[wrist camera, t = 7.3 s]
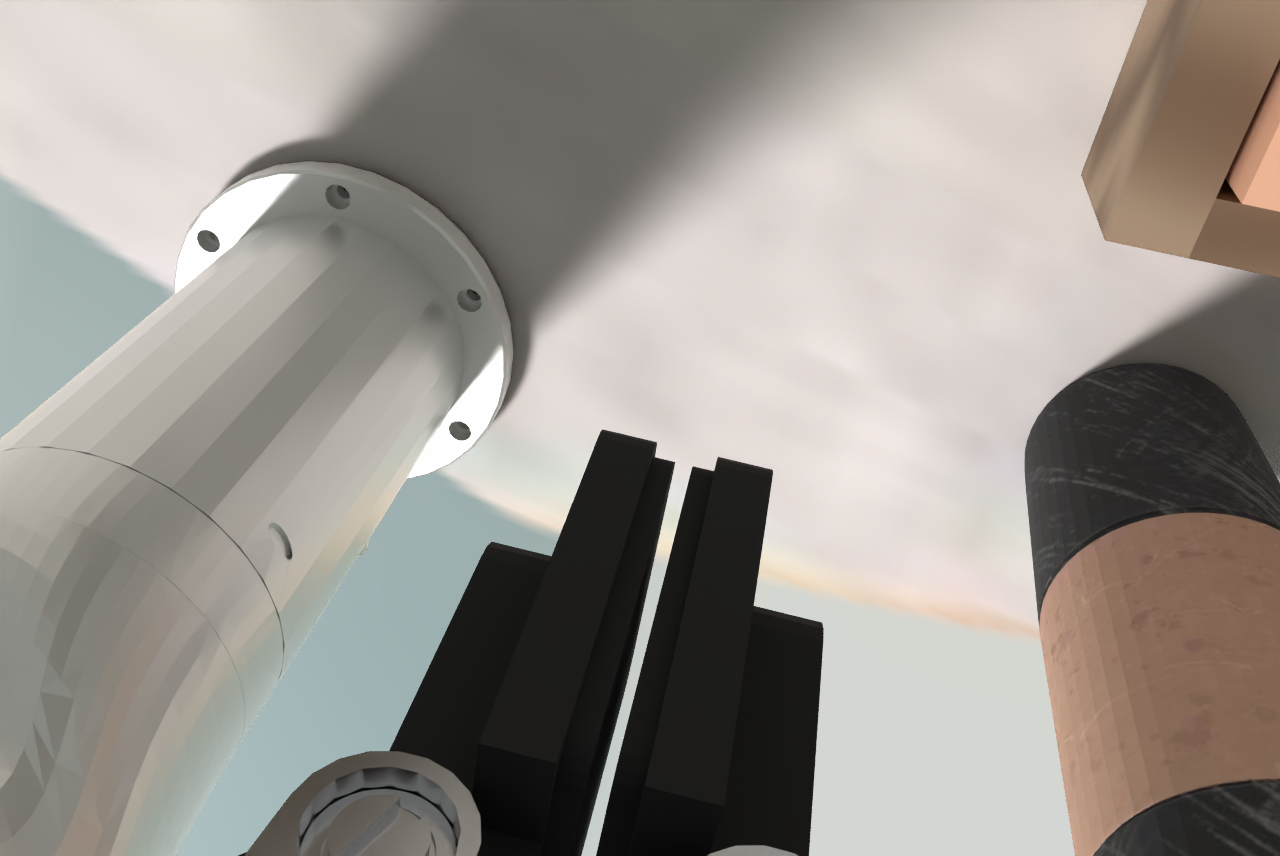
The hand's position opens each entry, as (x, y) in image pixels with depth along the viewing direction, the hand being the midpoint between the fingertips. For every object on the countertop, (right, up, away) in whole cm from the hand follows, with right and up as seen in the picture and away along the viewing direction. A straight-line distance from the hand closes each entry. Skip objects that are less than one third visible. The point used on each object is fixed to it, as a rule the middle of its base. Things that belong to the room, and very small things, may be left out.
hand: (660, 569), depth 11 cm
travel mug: (+17, +1, +28) cm, 33 cm away
